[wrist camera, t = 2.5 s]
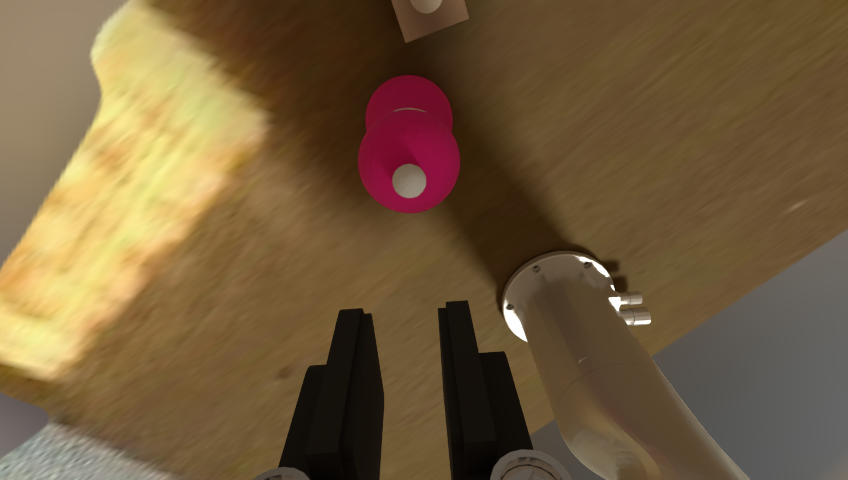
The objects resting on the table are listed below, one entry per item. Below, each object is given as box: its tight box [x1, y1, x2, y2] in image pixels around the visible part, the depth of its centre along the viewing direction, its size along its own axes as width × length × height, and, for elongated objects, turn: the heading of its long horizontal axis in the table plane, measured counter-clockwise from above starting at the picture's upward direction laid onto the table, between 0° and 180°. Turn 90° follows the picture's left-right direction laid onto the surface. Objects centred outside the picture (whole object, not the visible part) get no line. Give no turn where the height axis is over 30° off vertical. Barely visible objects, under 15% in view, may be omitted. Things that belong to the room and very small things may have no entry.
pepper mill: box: [358, 75, 460, 213], centre depth 30 cm, size 7×7×20 cm
